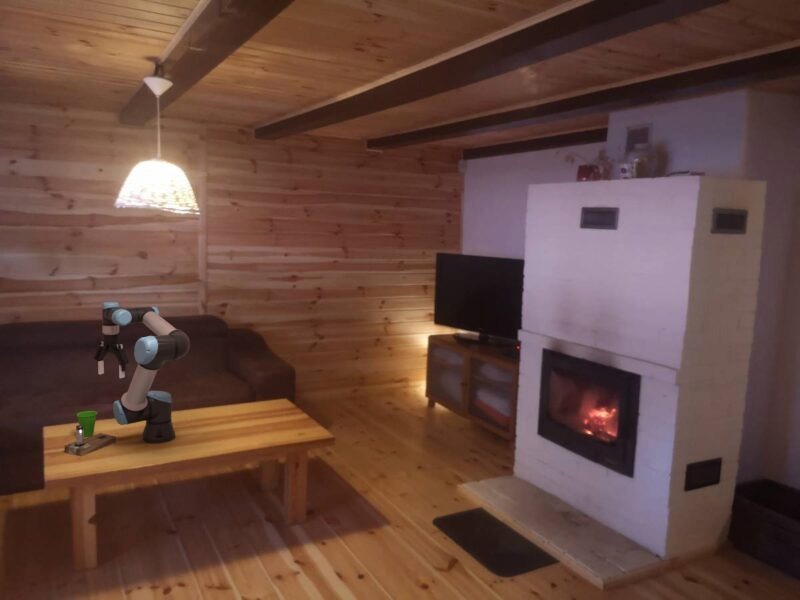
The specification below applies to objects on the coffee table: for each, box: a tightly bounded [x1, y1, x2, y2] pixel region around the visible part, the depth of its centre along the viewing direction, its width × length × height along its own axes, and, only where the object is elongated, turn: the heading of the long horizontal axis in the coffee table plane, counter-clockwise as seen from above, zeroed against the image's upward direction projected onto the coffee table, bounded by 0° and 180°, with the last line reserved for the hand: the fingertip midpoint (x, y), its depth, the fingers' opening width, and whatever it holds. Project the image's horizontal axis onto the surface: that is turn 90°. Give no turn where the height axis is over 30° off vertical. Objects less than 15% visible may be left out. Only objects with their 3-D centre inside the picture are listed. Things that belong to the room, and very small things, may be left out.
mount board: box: [63, 432, 117, 457], centre depth 293 cm, size 10×20×3 cm, turn 158°
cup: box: [76, 410, 98, 438], centre depth 308 cm, size 9×9×11 cm
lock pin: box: [75, 424, 85, 447], centre depth 287 cm, size 3×3×12 cm
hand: (111, 375), depth 311 cm, fingers open, 13 cm apart
